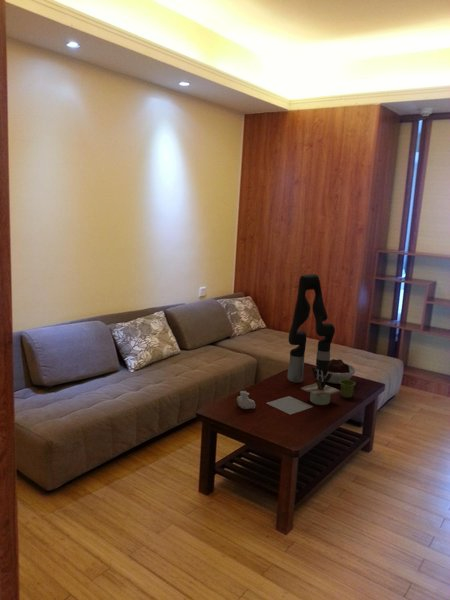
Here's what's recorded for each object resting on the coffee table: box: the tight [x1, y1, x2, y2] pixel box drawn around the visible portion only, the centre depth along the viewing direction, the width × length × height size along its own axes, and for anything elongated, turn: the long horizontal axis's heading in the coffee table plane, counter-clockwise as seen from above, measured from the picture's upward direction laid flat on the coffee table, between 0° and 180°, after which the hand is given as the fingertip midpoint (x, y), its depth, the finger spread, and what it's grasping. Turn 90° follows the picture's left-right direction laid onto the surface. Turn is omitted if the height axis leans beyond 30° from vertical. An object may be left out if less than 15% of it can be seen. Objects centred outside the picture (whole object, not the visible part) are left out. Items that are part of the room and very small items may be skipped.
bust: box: [236, 390, 256, 410], centre depth 269 cm, size 12×8×11 cm
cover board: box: [300, 378, 341, 398], centre depth 280 cm, size 16×16×7 cm
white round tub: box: [315, 358, 356, 385], centre depth 317 cm, size 25×25×15 cm
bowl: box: [309, 392, 331, 406], centre depth 282 cm, size 11×11×6 cm
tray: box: [266, 395, 314, 415], centre depth 275 cm, size 19×19×1 cm
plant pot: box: [339, 379, 356, 399], centre depth 292 cm, size 9×9×9 cm
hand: (320, 386), depth 281 cm, fingers closed on cover board, 2 cm apart
